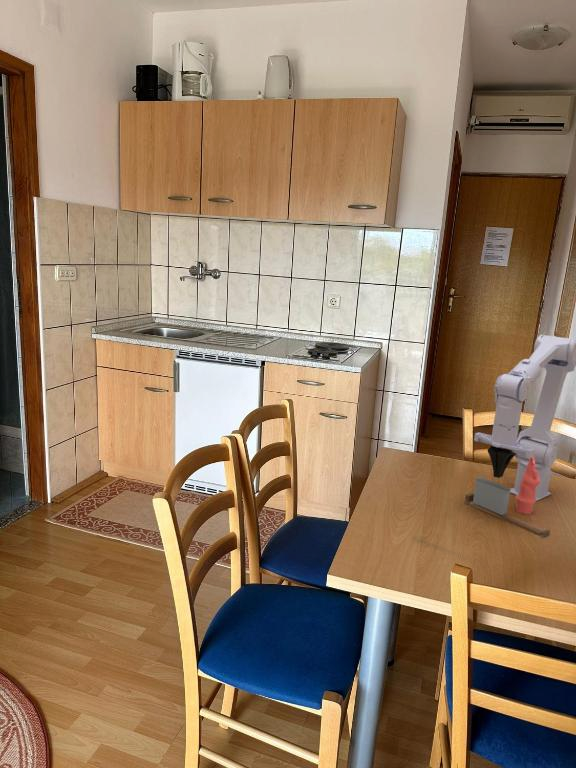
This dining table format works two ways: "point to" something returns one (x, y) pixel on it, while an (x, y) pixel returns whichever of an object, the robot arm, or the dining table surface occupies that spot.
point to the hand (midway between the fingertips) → (498, 476)
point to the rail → (508, 518)
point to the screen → (491, 495)
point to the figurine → (528, 489)
